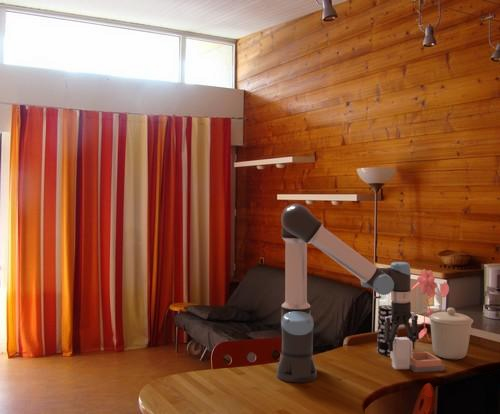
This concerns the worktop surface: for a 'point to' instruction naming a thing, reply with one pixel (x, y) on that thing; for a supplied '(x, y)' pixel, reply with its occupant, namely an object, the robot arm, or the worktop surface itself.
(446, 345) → the canister
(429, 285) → the pink flower
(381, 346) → the white-spotted black cylinder
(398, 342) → the skincare box
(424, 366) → the pink square tray
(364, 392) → the worktop surface
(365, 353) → the worktop surface
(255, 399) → the worktop surface
